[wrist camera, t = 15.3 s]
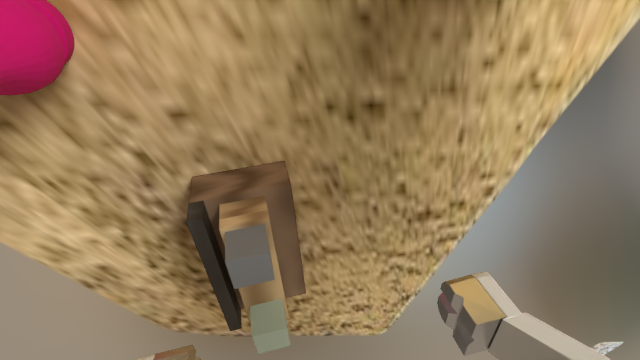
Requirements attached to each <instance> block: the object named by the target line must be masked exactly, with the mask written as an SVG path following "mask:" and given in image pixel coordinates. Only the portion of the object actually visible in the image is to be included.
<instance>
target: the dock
mask: <svg viewBox="0 0 640 360" xmlns="http://www.w3.org/2000/svg"><path fill="white" fill-rule="evenodd" d="M261 196H265V198H266V203H267V208H268V213H269V218H270V224H271V230H272V235H273V240H274V243H275V248H276V253H277V258H278V263H279V269H280V275H281V280H282V283H283V288H284V293H285V298H288V297H292V296H296V295H301V294H305V293H306V290H305V283H304V276H303V268H302V261H301V254H300V247H299V239H298V232H297V225H296V218H295V210H294V203H293V196H292V189H291V183H290V179H289V176H288V172H287V169H286V165H285V162H284V161H280V162H275V163H269V164H263V165H258V166H252V167H246V168H241V169H235V170H229V171H224V172H218V173H212V174H207V175H201V176H195V177H192V183H191V190H190V198H189V206H188V213H187V221H186V222H187V225H188V227H189V230H190V232H191V235H192V237H193V240H194V242H195V245H196V247H197V250H198V252H199V255H200V257H201V259H202V262H203V264H204V267H205V269H206V272H207V274H208V277H209V279H210V282H211V284H212V287H213V289H214V292H215V294H216V297H217V299H218V302H219V304H220V307H221V309H222V312H223V314H224V317H225V319H226V322H227V324H228V327H229V329H230V331H233V330H237V329H241V328H242V327H241V309H243V308H245V306H244V303H243V300H242V297H241V294H240V291H239V288H237V289H234V287H233V284H232V281H231V278H230V275H229V272H228V269H227V266H226V263H225V245H224V242H223V239H222V236H221V233H220V230H219V204H225V203H230V202H235V201H240V200H246V199H251V198H256V197H261Z"/></svg>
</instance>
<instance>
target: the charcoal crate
mask: <svg viewBox="0 0 640 360" xmlns="http://www.w3.org/2000/svg"><path fill="white" fill-rule="evenodd" d="M225 263H226V266H227V269H228V272H229V275H230V278H231V281H232V284H233V287H234V289H237V288H241V287H246V286H250V285H254V284H259V283H263V282H267V281H272V280H275V278H274V272H273V265H272V259H271V252H270V247H269V243H268V238H267V233H266V229H265V224H262V225H257V226H252V227H247V228H242V229H237V230H233V231H228V232H225Z"/></svg>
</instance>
